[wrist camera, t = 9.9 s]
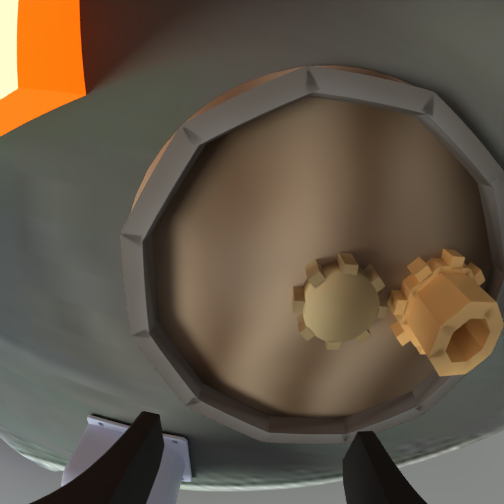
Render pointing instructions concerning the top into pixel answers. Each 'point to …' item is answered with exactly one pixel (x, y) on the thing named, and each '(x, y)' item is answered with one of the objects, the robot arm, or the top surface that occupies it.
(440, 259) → the planet gear
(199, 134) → the wooden tray
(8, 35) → the orange juice
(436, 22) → the top surface
